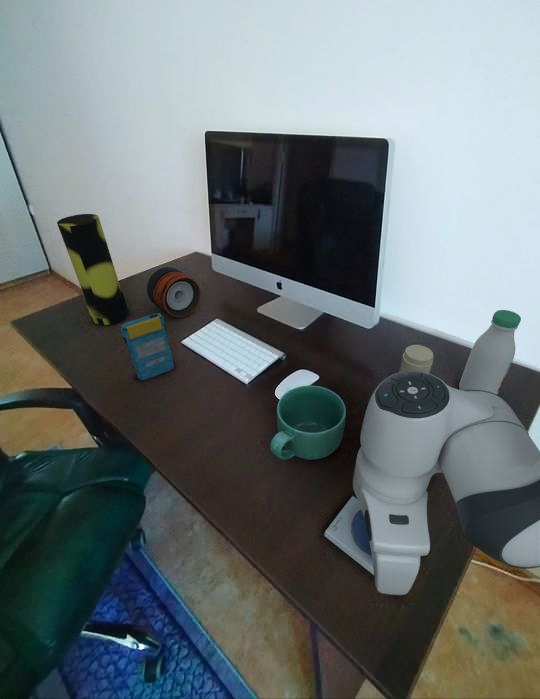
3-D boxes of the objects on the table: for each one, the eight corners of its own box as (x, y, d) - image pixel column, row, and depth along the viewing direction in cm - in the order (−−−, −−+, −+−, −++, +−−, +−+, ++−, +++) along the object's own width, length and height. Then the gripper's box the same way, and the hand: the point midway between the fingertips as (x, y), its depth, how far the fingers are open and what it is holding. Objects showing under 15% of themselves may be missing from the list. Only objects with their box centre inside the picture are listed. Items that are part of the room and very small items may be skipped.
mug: (309, 409, 80) (310, 375, 75) (355, 442, 72) (360, 408, 67) (249, 451, 72) (246, 417, 66) (294, 494, 64) (294, 460, 58)
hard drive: (324, 531, 57) (399, 590, 50) (352, 494, 62) (425, 544, 55) (323, 536, 58) (397, 595, 51) (351, 500, 63) (422, 549, 56)
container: (85, 319, 114) (47, 221, 97) (116, 305, 121) (85, 211, 103) (105, 330, 109) (69, 228, 91) (136, 314, 116) (107, 217, 98)
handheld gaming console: (172, 361, 96) (160, 311, 87) (178, 369, 93) (166, 318, 84) (135, 374, 92) (118, 324, 83) (140, 384, 89) (123, 332, 80)
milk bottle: (487, 409, 78) (522, 330, 67) (451, 391, 83) (478, 315, 71) (501, 391, 82) (537, 314, 71) (467, 375, 87) (495, 301, 75)
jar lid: (362, 504, 59) (363, 498, 59) (404, 526, 56) (405, 521, 55) (343, 540, 55) (344, 534, 54) (387, 566, 52) (389, 561, 51)
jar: (429, 395, 82) (440, 359, 76) (403, 400, 81) (412, 363, 75) (415, 378, 87) (425, 342, 81) (391, 381, 86) (398, 346, 80)
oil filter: (167, 324, 110) (158, 284, 103) (148, 309, 118) (138, 272, 110) (203, 308, 117) (197, 270, 109) (183, 295, 125) (176, 259, 117)
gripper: (355, 419, 56) (347, 473, 64) (374, 560, 40) (360, 609, 48) (398, 421, 56) (384, 475, 64) (435, 565, 39) (410, 614, 47)
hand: (374, 534), depth 56 cm, fingers closed on jar lid, 7 cm apart
